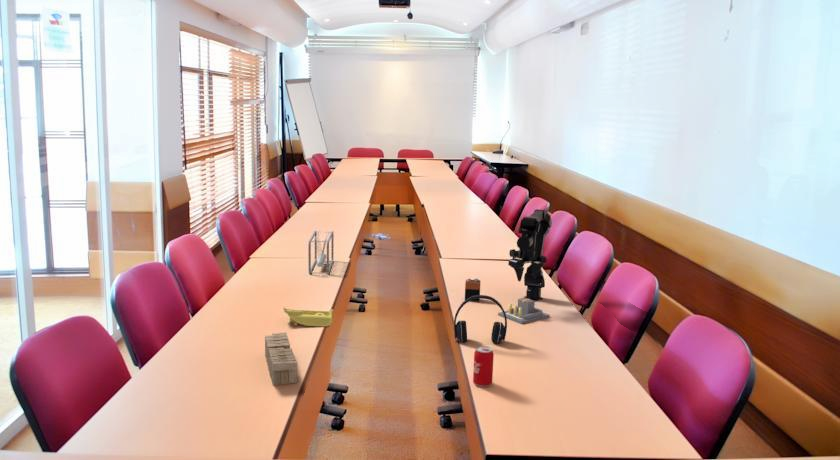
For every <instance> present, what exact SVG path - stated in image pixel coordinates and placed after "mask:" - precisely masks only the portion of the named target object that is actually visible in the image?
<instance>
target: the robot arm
mask: <svg viewBox="0 0 840 460" xmlns="http://www.w3.org/2000/svg"><path fill="white" fill-rule="evenodd" d="M552 224H553V221H552V217H551V215H549V214H548V213H547V211H546V210H545V209H540V208H538V209H534V210H533V213H532V214H530V215H529V216H525V215H524V216H523V217H522V219H520V224H519V228H518V234H521V236H520V237H518V239H517V241H516V247H517V248H518V250H516V248H515V249H509V257H510V259H509V260H508V266H510V267H511V268H512V269H513V270H514V272H515V275H516V278H517V281H518V282H521V281H522V278H523V282H524V284H523V285H524V287H527V288H526V292H525V293H526V295H524V296H523V298H527V299H531V300H533V301H535V302H536V301H540V300H543V299H544V297H542V289H543V288H545V284H546V281H545V278H544V271H543V269H542V268H543V266H545V264H546V263H547V257H546V256H545V255H543V252H544V246H545V240H546V237H547V235H548V234H549V233H550V230H551V228H552ZM529 263H530V265H529V266H527V267H526V271H525V273H524V270H525V267H524V266H525V264H529ZM523 274H524V276H523Z"/></svg>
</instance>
